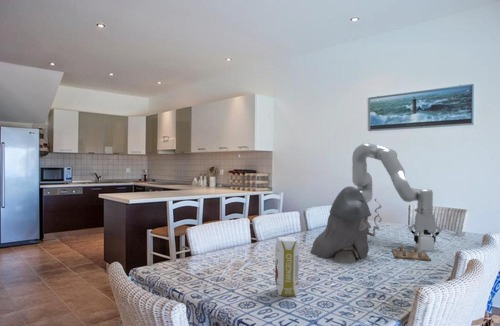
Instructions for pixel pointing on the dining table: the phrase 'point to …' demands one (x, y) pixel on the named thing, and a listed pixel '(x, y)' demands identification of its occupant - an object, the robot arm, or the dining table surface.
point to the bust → (346, 228)
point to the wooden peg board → (410, 254)
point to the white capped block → (425, 241)
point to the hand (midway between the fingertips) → (424, 243)
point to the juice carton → (287, 266)
